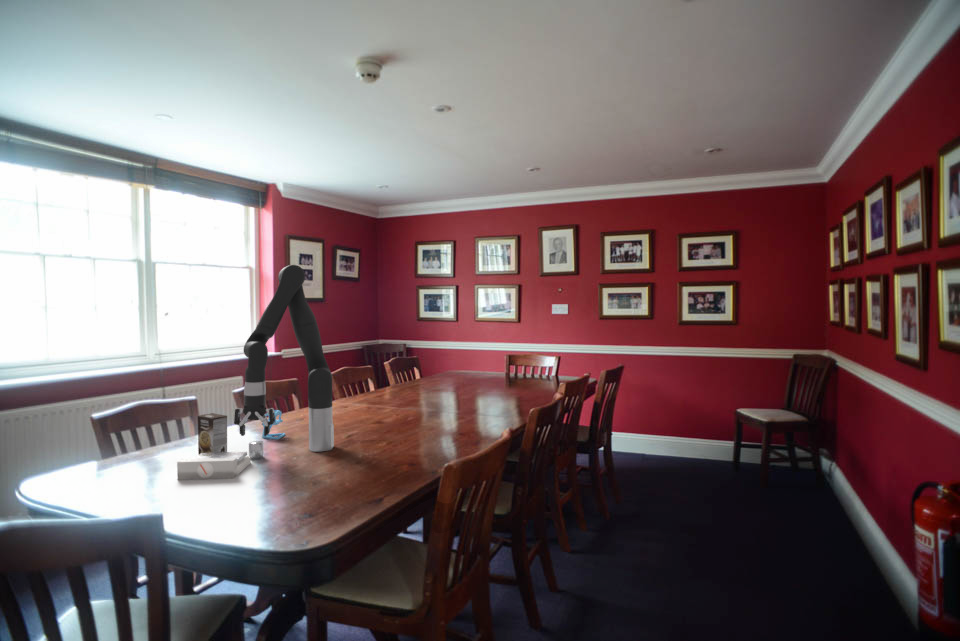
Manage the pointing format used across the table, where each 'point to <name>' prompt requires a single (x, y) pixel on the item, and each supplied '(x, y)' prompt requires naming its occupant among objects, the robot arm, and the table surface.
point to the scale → (210, 468)
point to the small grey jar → (256, 450)
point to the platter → (222, 455)
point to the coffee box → (212, 433)
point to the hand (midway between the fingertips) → (254, 435)
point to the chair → (274, 424)
